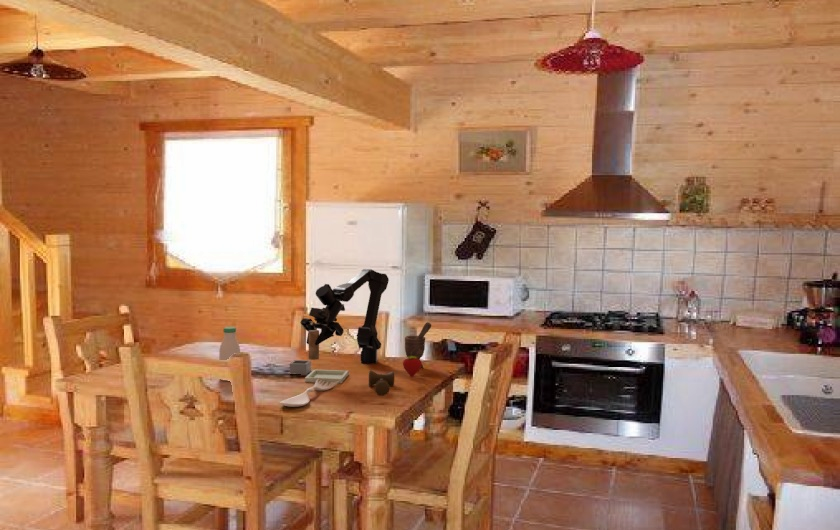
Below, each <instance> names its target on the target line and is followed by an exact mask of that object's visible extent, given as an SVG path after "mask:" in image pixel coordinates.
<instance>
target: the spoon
mask: <svg viewBox="0 0 840 530" xmlns="http://www.w3.org/2000/svg"><path fill="white" fill-rule="evenodd" d="M318 381H319V379H317V380H316V382H315V383H314V384H313V386H311V387H309V388H306V389H305V391H304V392H302V393H300V394H298V395H295V396H292V397H289V398H285V399H283V400H280V401H279V404H280V405H282V406H285V407H289V408H299V407H303V406H306V405H308V403H310V400H311V399H310V397H309V395H308V394H309V393H310V392H315V390H316V391H319V392H325V391H328V390H329V389H332V388H334V387H335V386H337V385H338V384H339V380H338V381H337V382H333V383H332V382H331V383H328V382H327V383H324V382H325V381H323V382H322V380H321V381H319V382H318ZM321 382H322V383H321Z"/></svg>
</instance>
